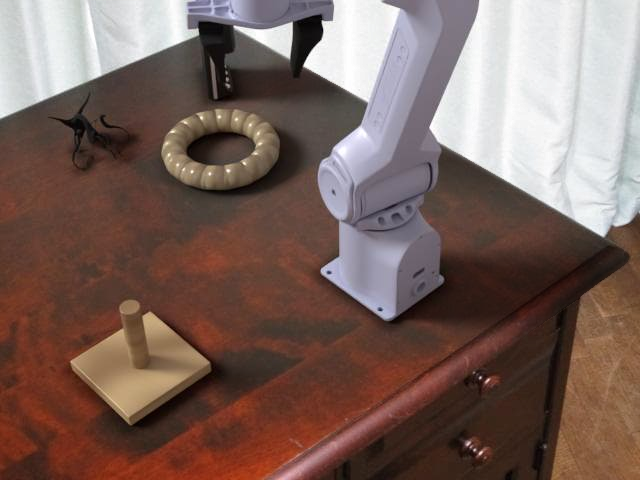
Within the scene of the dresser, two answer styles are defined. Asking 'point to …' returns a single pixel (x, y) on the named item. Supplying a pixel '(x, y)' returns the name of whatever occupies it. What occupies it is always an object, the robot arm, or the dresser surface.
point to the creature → (88, 131)
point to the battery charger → (210, 72)
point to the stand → (140, 364)
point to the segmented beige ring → (214, 174)
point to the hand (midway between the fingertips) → (258, 74)
